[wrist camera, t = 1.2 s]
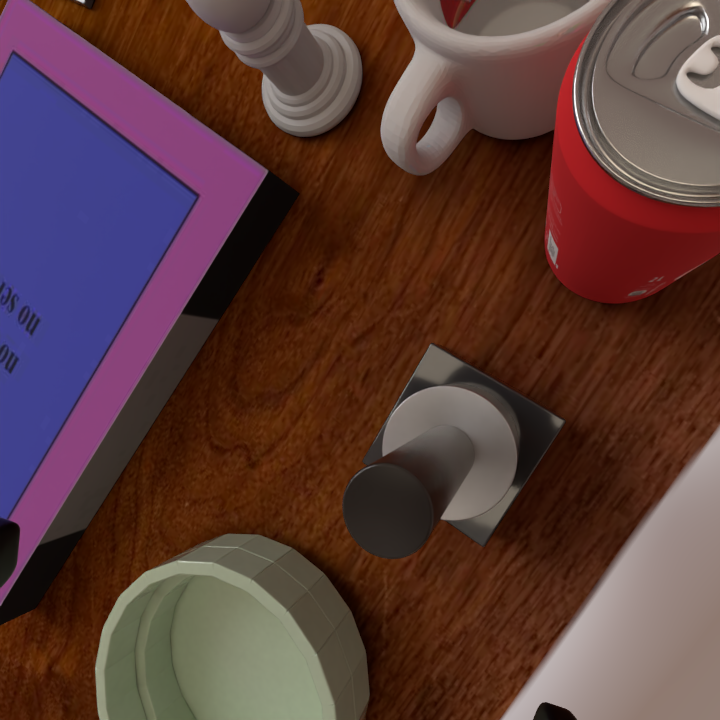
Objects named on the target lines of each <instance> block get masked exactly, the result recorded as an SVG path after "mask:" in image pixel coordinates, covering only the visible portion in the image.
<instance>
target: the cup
mask: <svg viewBox="0 0 720 720" xmlns="http://www.w3.org/2000/svg"><path fill="white" fill-rule="evenodd" d="M610 1H611V0H394V3H395V5H396V7H397V10H398V12H399V14H400V15H401V17H402V19H403V21H404V23H405V25H406V26H407V28H408V30H409V32H410V34H411V35H412V37H413V39H414V42H415V48H416V50H415V53H414V56H413V59H412V61H411V62H410V64H409V65H408V67H407V69H406V70H405V72H404V73H403V75H402V76H401V78H400V80H399V81H398V83H397V85H396V87H395V88H394V90H393V92H392V94H391V96H390V98H389V100H388V102H387V105H386V107H385V110H384V113H383V117H382V122H381V139H382V143H383V146H384V149H385V150H386V152H387V154H388V156H389V157H390V158H391V160H392V161H393V162H395V163H396V164H397V165H398V166H399V167H401V168H402V169H403V170H405V171H407V172H408V173H411V174H414V175H426V174H429V173H430V172H432V171H434V170H435V169H437V168H438V167H439V166H440V165H441V164H442V163H443V162H444V161H445V160H446V159H447V158H448V157H449V156H450V154H451V153H452V152H453V151H454V149H455V148H456V147H457V145H458V144H459V143H460V141H461V140H462V139H463V137H464V136H465V135H466V134H467V133H468V132H469V131H470V130H471V129H475V130H477V131H478V132H480V133H483V134H485V135H488V136H491V137H494V138H499V139H508V140H517V139H526V138H532V137H536V136H539V135H542V134H545V133H547V132H550V131H552V130H554V129H555V120H556V110H557V102H558V96H559V92H560V88H561V84H562V81H563V78H564V75H565V72H566V70H567V68H568V65H569V63H570V61H571V59H572V57H573V55H574V53H575V52H576V50H577V48H578V47H579V45H580V44H581V42H582V40H583V39H584V38H585V36H586V35H587V34H588V32H589V31H590V29H591V28H592V26H593V24H594V23H595V21H596V20H597V18H598V17H599V15H600V14H601V12H602V11H603V10H604V8H605V7H606V6H607V5H608V3H609V2H610ZM436 105H437V111H436V115H435V118H434V120H433V123H432V125H431V127H430V128H429V130H428V131H427V133H426V134H425V136H424V137H423V138H422V139H421V140H420V141H419V142H418V143H417V144H416V142H417V138H418V134H419V132H420V129H421V127H422V125H423V123H424V121H425V120H426V118H427V116H428V115H429V113H430V112H431V111H432V109H433V108H434V107H435V106H436Z"/></svg>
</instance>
